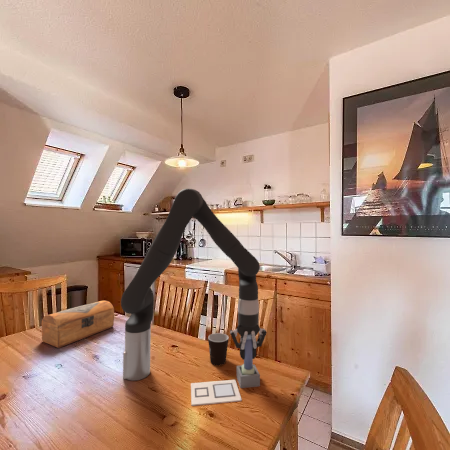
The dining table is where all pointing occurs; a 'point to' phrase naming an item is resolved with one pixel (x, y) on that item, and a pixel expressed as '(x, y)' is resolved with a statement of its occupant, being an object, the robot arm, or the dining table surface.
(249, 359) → the marker
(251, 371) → the button
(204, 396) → the sheet
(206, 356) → the dining table surface
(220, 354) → the coffee mug
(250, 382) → the button housing
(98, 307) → the wooden box
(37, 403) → the dining table surface
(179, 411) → the dining table surface
